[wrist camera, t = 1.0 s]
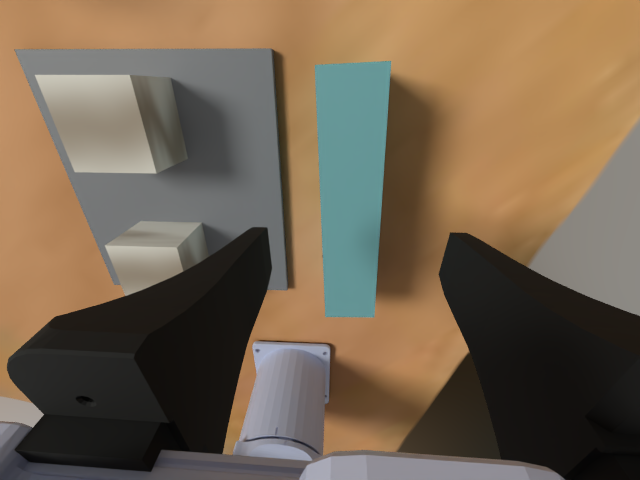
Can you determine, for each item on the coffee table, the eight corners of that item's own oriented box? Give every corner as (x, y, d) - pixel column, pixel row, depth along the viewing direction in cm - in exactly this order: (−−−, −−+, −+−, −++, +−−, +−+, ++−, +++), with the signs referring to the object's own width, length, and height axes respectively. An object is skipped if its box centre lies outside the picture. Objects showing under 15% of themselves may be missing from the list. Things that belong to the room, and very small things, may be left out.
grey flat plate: (288, 286, 26) (287, 290, 25) (118, 280, 26) (114, 284, 26) (273, 49, 17) (271, 48, 17) (23, 50, 18) (14, 49, 17)
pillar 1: (187, 158, 20) (156, 173, 17) (119, 157, 20) (74, 172, 17) (170, 77, 18) (129, 74, 14) (93, 77, 18) (34, 74, 14)
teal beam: (367, 277, 25) (374, 317, 21) (327, 277, 25) (325, 316, 21) (377, 67, 18) (391, 61, 13) (320, 70, 18) (314, 64, 13)
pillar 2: (213, 274, 25) (192, 305, 21) (157, 272, 25) (128, 302, 21) (201, 222, 22) (176, 247, 19) (140, 221, 23) (104, 245, 19)
